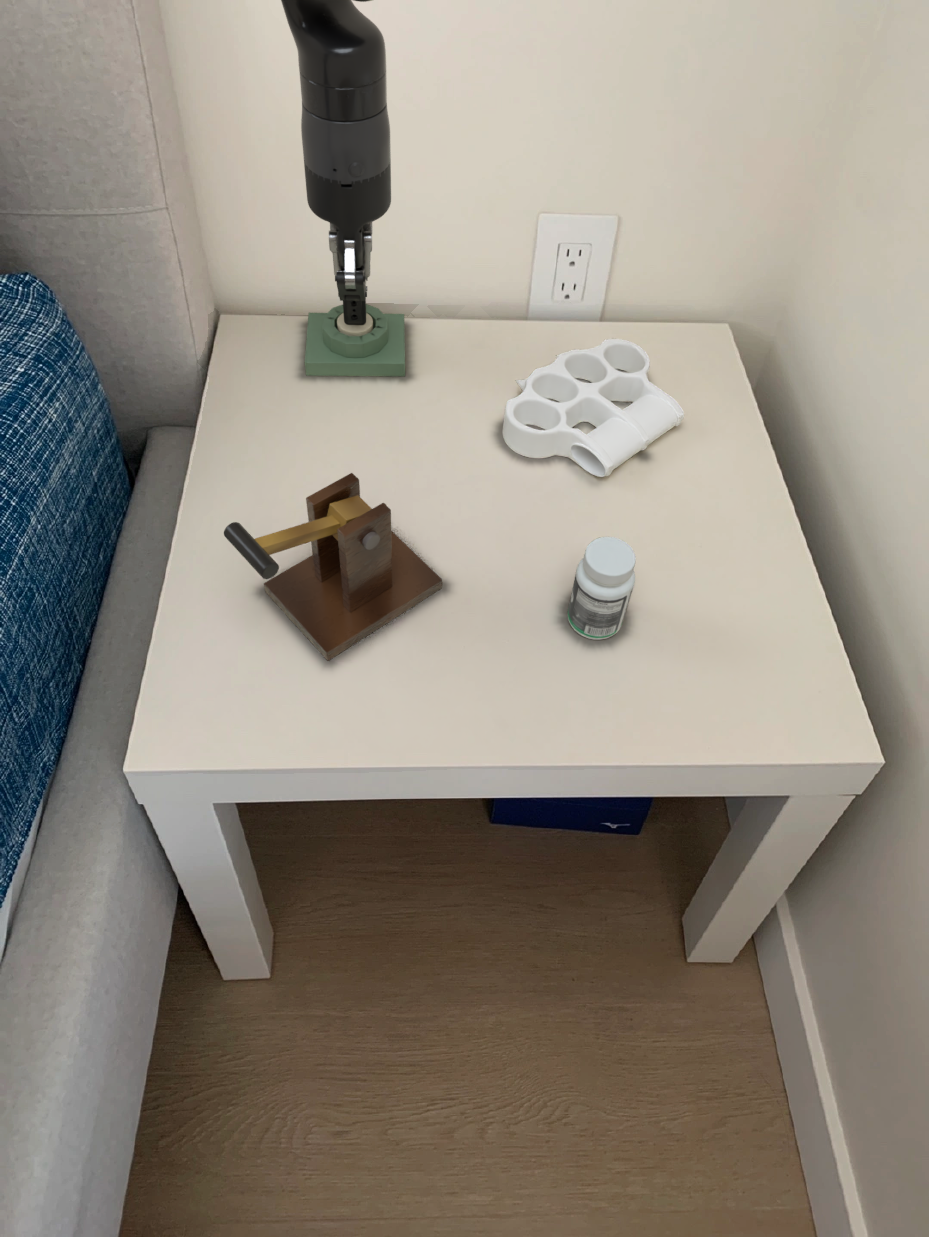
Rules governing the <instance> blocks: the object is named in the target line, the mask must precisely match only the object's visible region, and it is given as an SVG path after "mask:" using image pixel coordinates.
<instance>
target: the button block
mask: <svg viewBox="0 0 929 1237" xmlns="http://www.w3.org/2000/svg"><path fill="white" fill-rule="evenodd" d="M342 313H344V312H343V304H340V305H337V306H334V307H332V308H331V309H329V311H328V312H308V314H307V326H306V327H307V328H306V340H305V354H304V370H305V376H307V377H309V376H313V377H315V376H317V377H318V376H319V377H323V376H324V377H406V340H405V339H406V337H405V336H406V335H405V334H406V333H405V314H404V313H384V312H382V310H381V309H380V308H379V307H375V306H373V305H370V304H368V303H366V313H368V314H369V315H370V316H371V317H372V319H373V330H372V331H371V332H370V333H368V334H365V335H362V336H348V335H345V334H343V333H340V332H339V331H338V328H337V319H338V317H339V316H340V315H341V314H342Z"/></svg>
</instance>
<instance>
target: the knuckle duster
mask: <svg viewBox="0 0 929 1237" xmlns="http://www.w3.org/2000/svg"><path fill="white" fill-rule="evenodd" d="M650 368H651V360H650V356H649V354H648V353H647V351H646V350H645V349H644V348H642V347H641V346H640V345H638V344H637V343H635V342H633V341H630V340H627V339H624V338H623V339H622V338H605V339H604V340H603V341H602V342H601V343H600V344H599V345H596V346H594V347H591V348H583V349H581V348H580V349H579V348H574V349H571V350H568V351H565V352H562V353H559V354H558V355H557V354H556V355H555V360H554V361H553V362H551V363H549V364H548V365H544V366H541V367H536V368H535V369H534V370H533V371H532V373H530V374H529V376H528V377H527V378H525V379H515V380H514V381H515V383H516V384H517V385H518V386H519V388H520V389H521V391H522V392H521V393H520V394H519V395H517V396H516V397H513V398H510V399H508V400H507V401H506V404H505V407H504V416H503V424H502V437H503V440H504V443H505V444H506V446H507V447H508V448H509V449H510V450H512V452H514V453H516V454H518V455H520V456H523V457H524V458H525V457H526V458H530V459H545V458H546V459H547V458H550V457H553V456H559V457H565V458H568V459H570V460H571V461H573V462H574V463H576V464H577V465H578V466H579V467H581V468H582V469H583V470H584V471H586V472H587V473H589V474H591V475H593V476H595V477H598V478H605V477H608V476H610V475H611V474H612V472H613V471H614V470H616V468H618V467H620V466H621V465H622V464H624V463H625V462H627V461H628V460H629V459H631V458H632V457H634V456H635V455H636V454H637V453H639V452H641V451H645V450H646V449H647V448H648V446H649V445H650V444H651V443H653V442H654V441H656V440H657V439H659V438H660V437H662V436H663V435H664V434H665V433H667V432H668V431H670V430H671V429H672V428H674V427H678V426H680V425H681V423H682V421H683V420H684V418H685V412H684V409H683V408H682V406H681V405H680V403H679V402H678V401H677V400H676V399H675V398H674V397H673V396H671V395H670V394H669V393H666V391H665V390H663V389H661V388H660V387H659V386H658V385H656V384H654V383H653V382H651V381H650V380H649V377H648V375H649V372H650ZM621 370H622V371H621ZM579 379H581V380H585V381H587V382H585V381H581V380H579ZM613 402H621V403H626V402H627V403H628V402H629V403H630V404H629V405H627V406H626V407H624V408H623V409H622V408H621V407H619V406H617V405H616V404H615V403H613ZM584 422H585V423H589V424H591V425H592V426H594V427H595V428H594V429H592V430H591V431H589V432H588V433H587V434H586V433H585V432H583V431H582V430H581V429H579V428H575V426H577V425H578V424H580V423H584ZM531 426H535V427H538V428H541V429H537V428H533V427H531ZM573 427H574V428H573Z"/></svg>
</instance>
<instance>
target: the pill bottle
mask: <svg viewBox="0 0 929 1237" xmlns="http://www.w3.org/2000/svg"><path fill="white" fill-rule="evenodd" d="M636 557H637V556H636V553H635V551H634V549H633V547H632V546H631V545H630V544H629V543H627V541H625V540H623V539H620V538H618V537H615V536H601V537H597V538H595V539H593V540H592V541H591V542H590V543H588V545H587V546H586V548H585V551H584V554H583V557H582V558H581V559H580V561H579V562H578V564H577V567H576V570H575V574H574V580H573V585H572V588H571V594H570V598H569V603H568V607H567V621H568V623H569V625H570V626H571V628H572V629H573V631H575V632H576V633H577V634H578V635H579V636H582V637H583V638H586V639H589V640H596V641H599V640H606V639H609V638H612V637H613V636H614V635H616V634H617V633H618V632H619V631H620V630H621V629H622V625H623V624H624V620H625V617H626V613H627V609H628V606H629V602H630V599H631V597H632V593H633V590H634V588H635V584H636V573H635V566H636V563H637V562H636V560H637V558H636Z"/></svg>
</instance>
